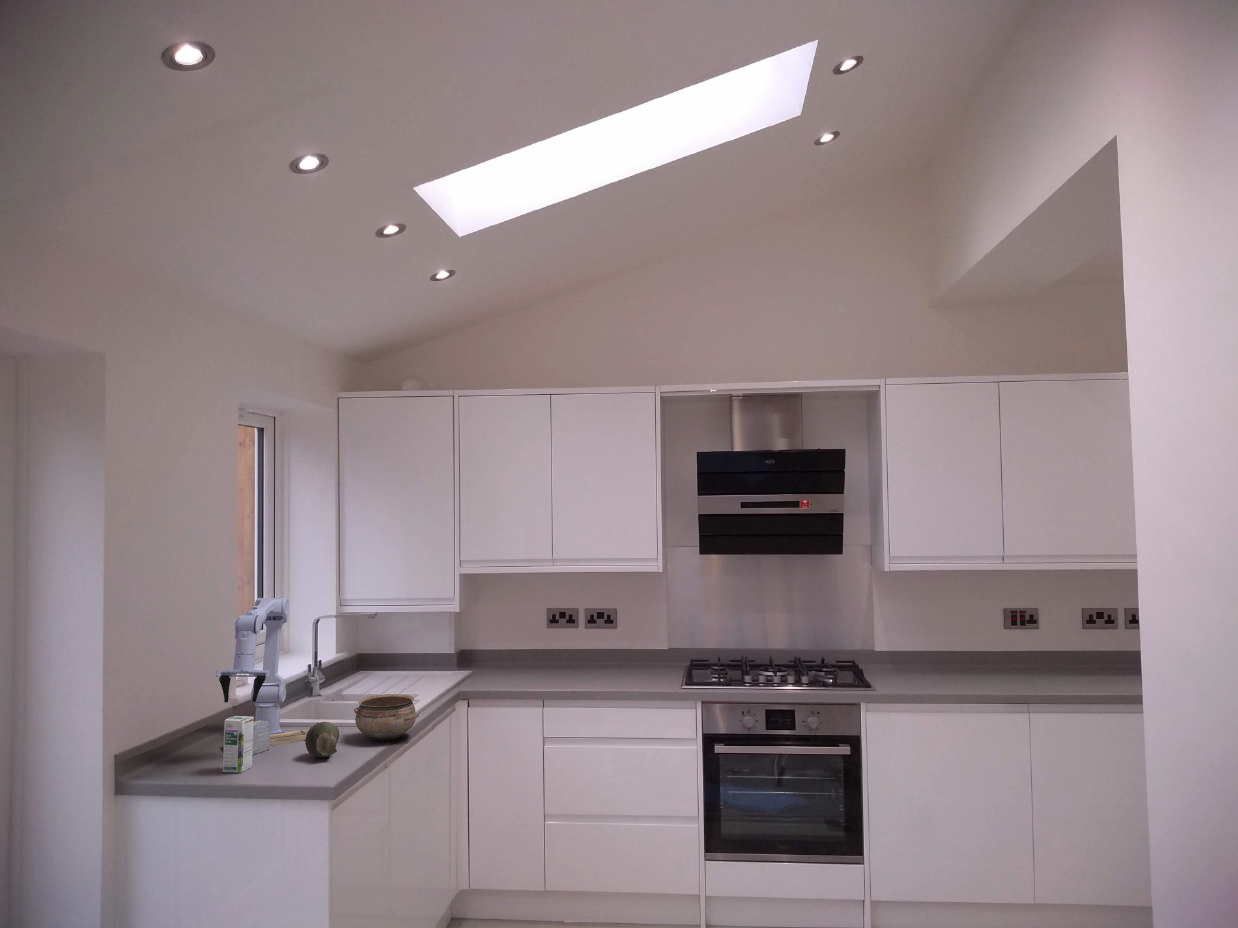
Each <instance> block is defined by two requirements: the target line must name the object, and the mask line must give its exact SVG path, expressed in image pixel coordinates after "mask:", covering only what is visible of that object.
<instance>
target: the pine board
mask: <svg viewBox="0 0 1238 928" xmlns="http://www.w3.org/2000/svg"><path fill="white" fill-rule="evenodd" d="M308 731H309V729H303V730H302V729H301V730H295V731H288V732H283V733H277V734H270V742H269V747H271V746H276V745H282V744H283V745H284V744H289V743H296V742H305V739H306V735H307V732H308ZM222 742H223V743H222V748H223V749H224V740H223V741H222Z"/></svg>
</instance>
